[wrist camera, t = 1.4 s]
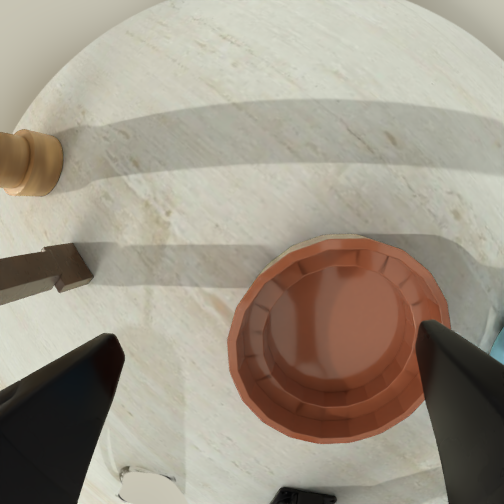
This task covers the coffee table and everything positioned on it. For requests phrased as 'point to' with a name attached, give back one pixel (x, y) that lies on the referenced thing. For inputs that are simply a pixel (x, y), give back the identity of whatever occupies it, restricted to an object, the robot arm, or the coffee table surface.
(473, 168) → the coffee table surface
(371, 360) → the bowl
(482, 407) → the robot arm
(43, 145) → the pepper mill
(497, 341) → the teapot
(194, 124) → the coffee table surface
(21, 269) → the brown long block
